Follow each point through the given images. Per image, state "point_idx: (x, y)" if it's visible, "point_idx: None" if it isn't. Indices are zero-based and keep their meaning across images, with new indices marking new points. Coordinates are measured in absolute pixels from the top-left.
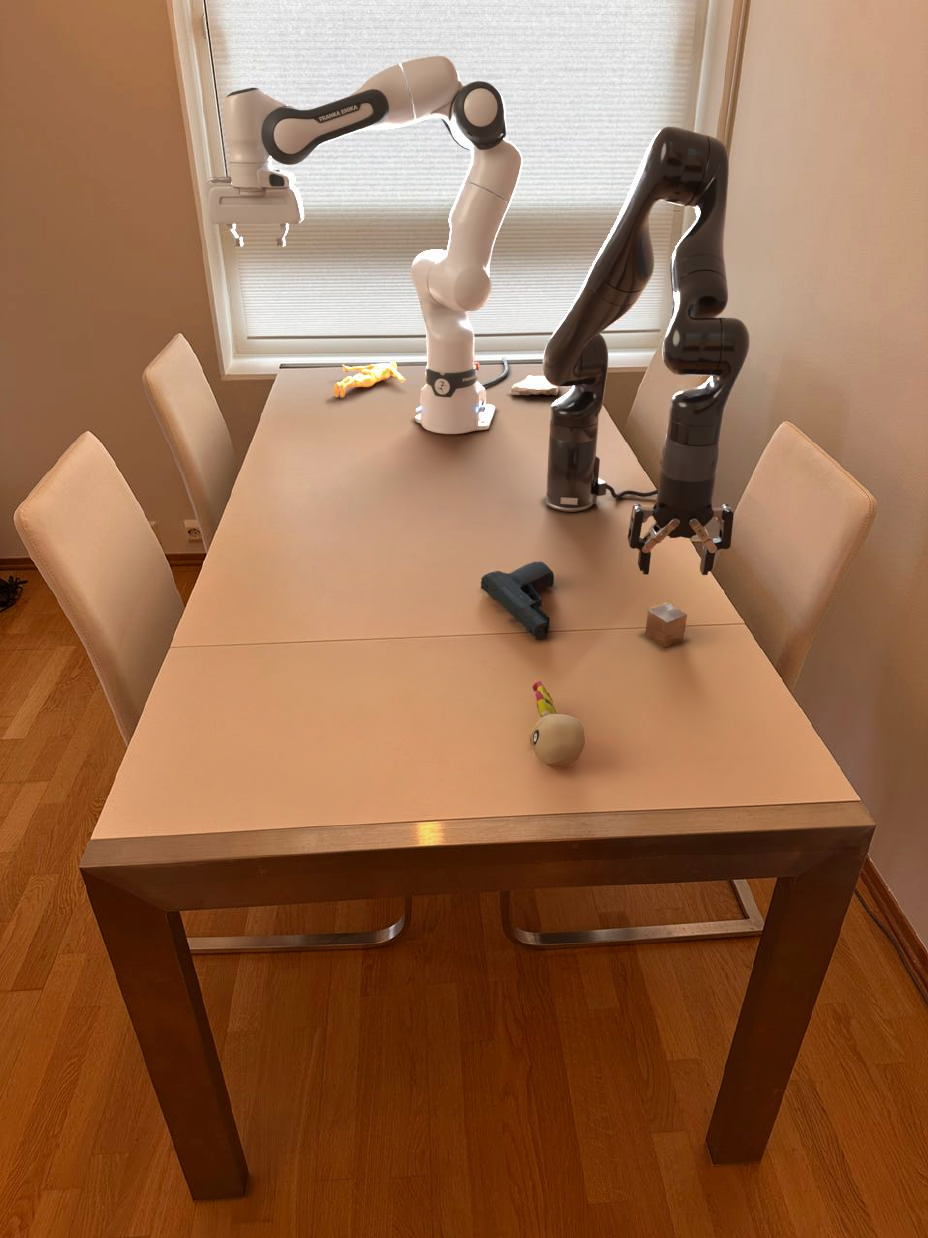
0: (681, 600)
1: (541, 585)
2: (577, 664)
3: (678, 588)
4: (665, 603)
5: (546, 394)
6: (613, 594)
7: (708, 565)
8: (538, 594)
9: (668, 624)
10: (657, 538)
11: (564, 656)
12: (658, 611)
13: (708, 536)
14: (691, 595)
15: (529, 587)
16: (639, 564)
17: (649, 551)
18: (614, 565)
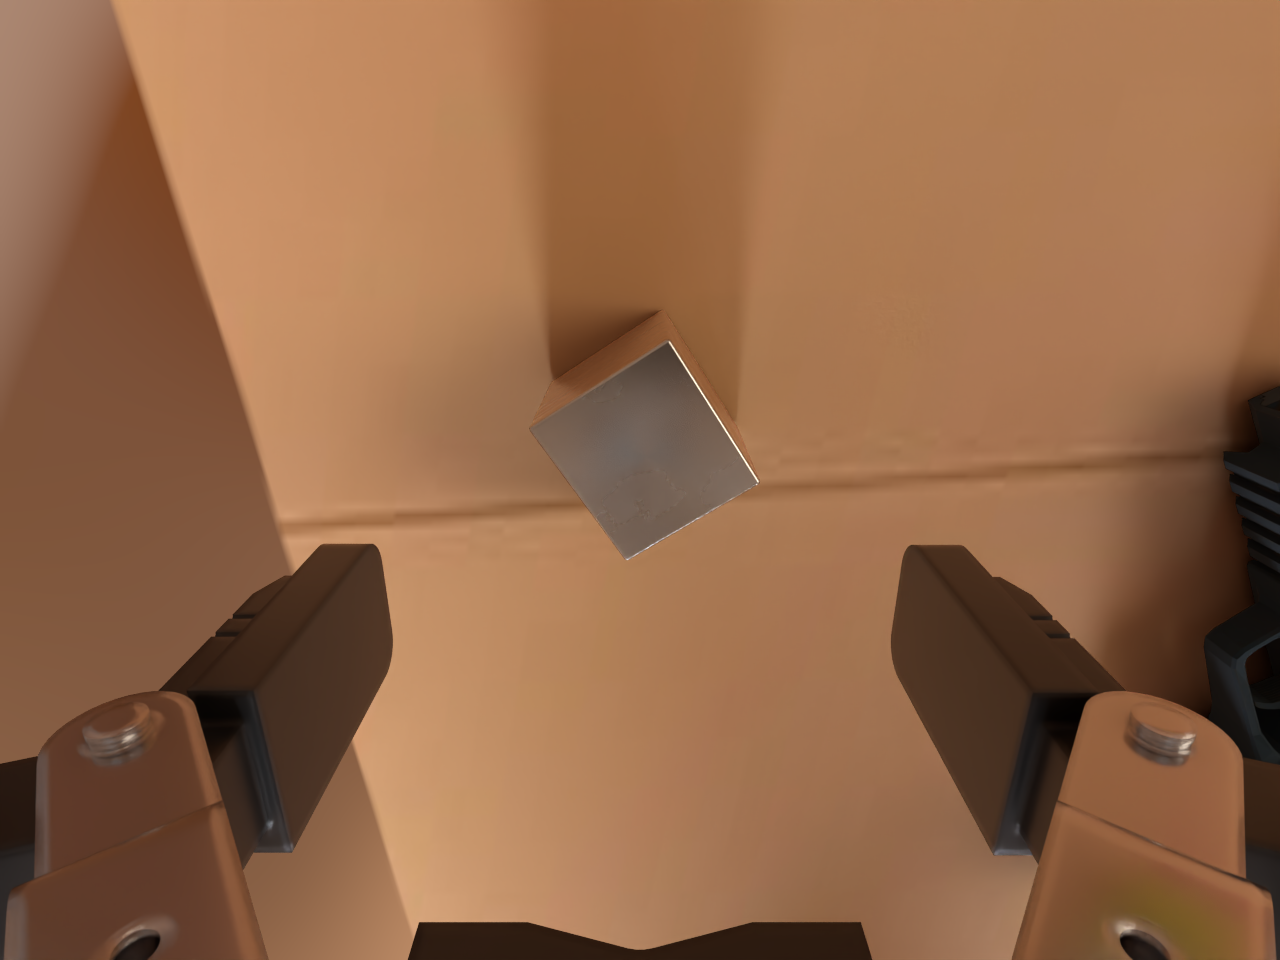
0: (511, 707)
1: None
2: (1164, 143)
3: (512, 791)
4: (641, 548)
5: None
6: (808, 748)
7: (283, 595)
8: (1242, 693)
9: (658, 339)
10: (1186, 881)
11: (1208, 225)
12: (701, 461)
13: (14, 932)
14: (461, 743)
15: (1270, 746)
16: (1049, 619)
17: (1037, 734)
18: None
